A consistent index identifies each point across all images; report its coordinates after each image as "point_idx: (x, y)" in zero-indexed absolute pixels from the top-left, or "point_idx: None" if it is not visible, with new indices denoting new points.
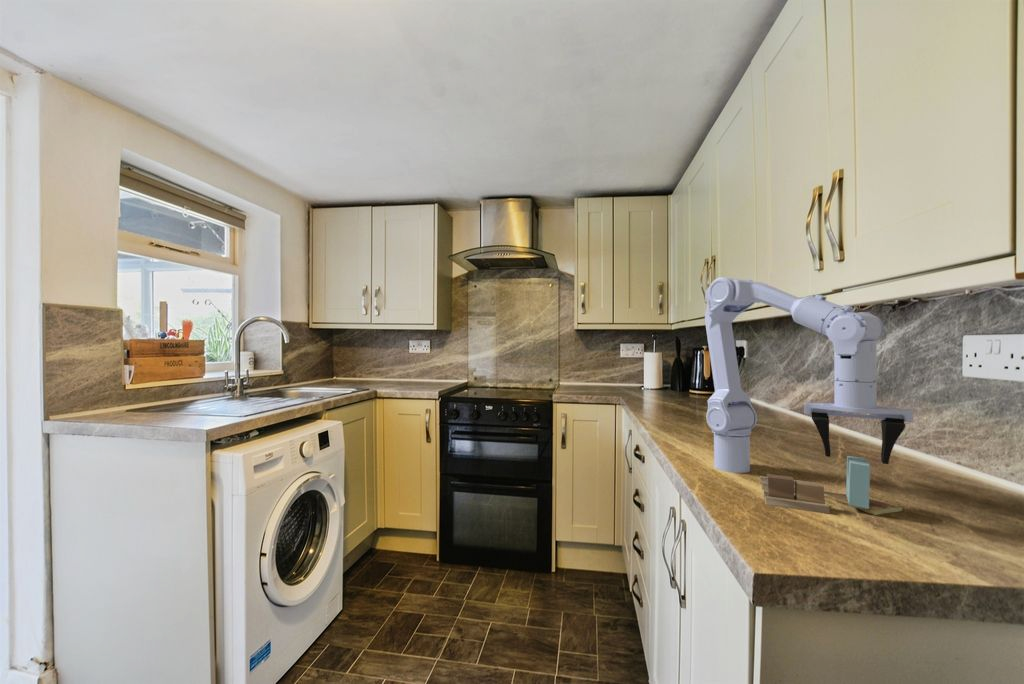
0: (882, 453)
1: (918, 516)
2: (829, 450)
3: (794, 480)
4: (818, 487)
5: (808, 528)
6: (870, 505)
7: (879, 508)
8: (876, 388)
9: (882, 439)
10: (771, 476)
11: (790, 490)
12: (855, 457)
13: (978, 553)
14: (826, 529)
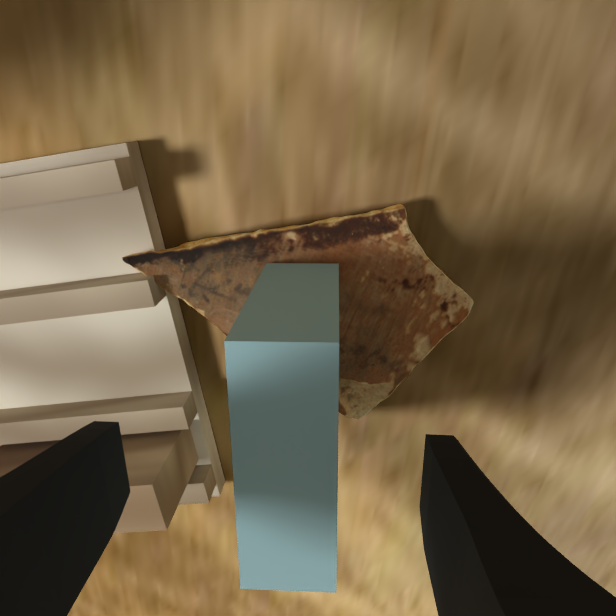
0: (432, 523)
1: (536, 239)
2: (105, 537)
3: (29, 183)
4: (149, 526)
5: (174, 559)
6: (349, 377)
7: (378, 390)
8: None
9: (470, 553)
10: None
11: None
12: (275, 365)
13: (590, 519)
14: (218, 543)
